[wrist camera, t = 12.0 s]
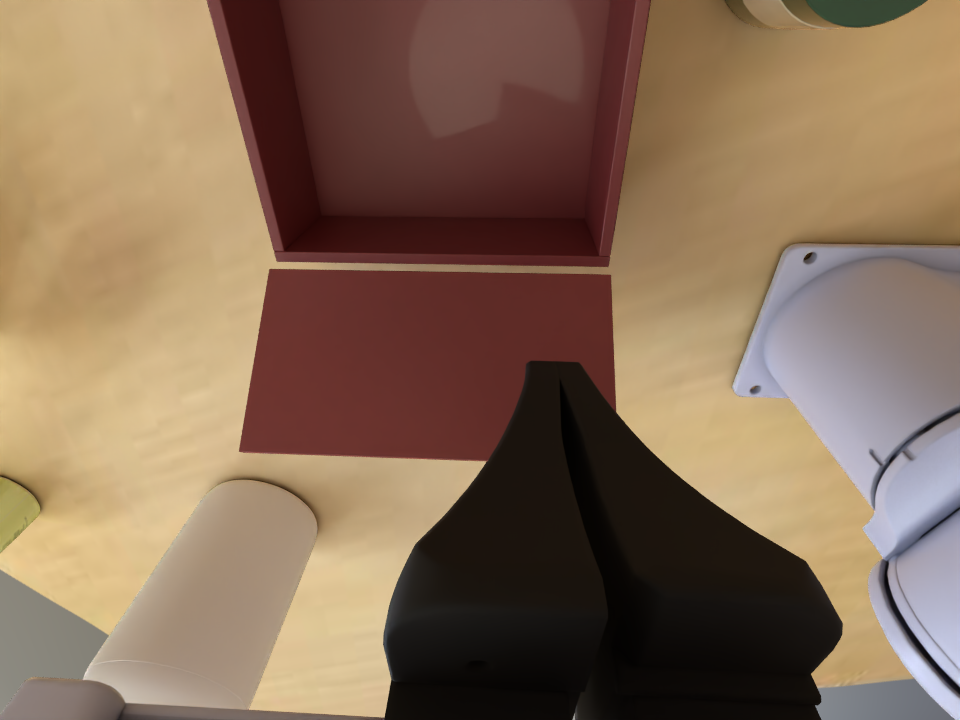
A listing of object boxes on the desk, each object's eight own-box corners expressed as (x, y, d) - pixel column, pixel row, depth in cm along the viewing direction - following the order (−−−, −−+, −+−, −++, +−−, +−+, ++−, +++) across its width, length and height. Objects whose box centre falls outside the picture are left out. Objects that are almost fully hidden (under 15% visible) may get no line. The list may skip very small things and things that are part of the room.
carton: (652, -244, 13) (707, -353, 9) (591, 224, 20) (608, 267, 16) (225, -229, 13) (118, -325, 10) (317, 221, 21) (276, 261, 17)
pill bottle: (188, 470, 31) (-30, 767, 18) (312, 480, 30) (177, 786, 18) (219, 543, 35) (62, 820, 23) (327, 553, 35) (227, 835, 23)
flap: (618, 465, 14) (616, 465, 14) (611, 274, 16) (609, 277, 16) (238, 452, 15) (243, 452, 15) (269, 268, 16) (272, 272, 17)
